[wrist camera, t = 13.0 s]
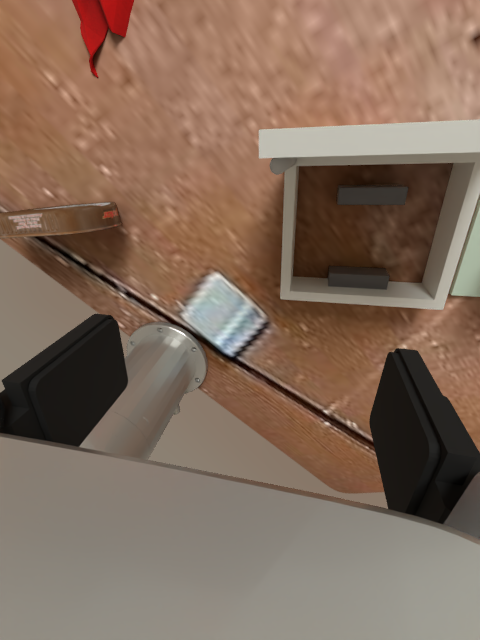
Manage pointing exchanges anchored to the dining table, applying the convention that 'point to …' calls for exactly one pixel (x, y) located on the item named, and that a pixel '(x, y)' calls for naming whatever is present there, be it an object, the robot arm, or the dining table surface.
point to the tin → (59, 220)
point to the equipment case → (379, 202)
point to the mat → (469, 262)
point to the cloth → (102, 21)
